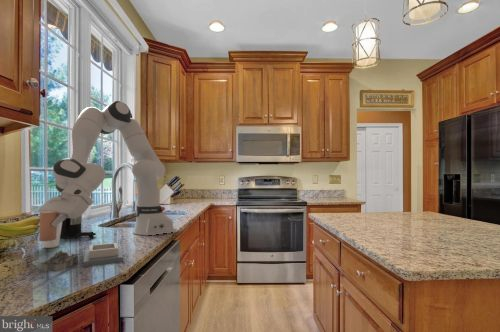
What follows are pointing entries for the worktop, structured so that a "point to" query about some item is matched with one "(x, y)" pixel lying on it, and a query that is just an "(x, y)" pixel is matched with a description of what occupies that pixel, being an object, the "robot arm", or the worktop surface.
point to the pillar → (47, 226)
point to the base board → (102, 254)
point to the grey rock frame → (60, 261)
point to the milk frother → (73, 228)
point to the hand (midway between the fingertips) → (46, 225)
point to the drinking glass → (57, 241)
